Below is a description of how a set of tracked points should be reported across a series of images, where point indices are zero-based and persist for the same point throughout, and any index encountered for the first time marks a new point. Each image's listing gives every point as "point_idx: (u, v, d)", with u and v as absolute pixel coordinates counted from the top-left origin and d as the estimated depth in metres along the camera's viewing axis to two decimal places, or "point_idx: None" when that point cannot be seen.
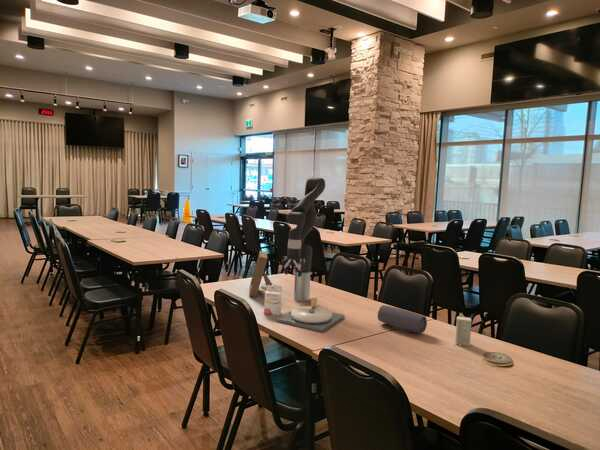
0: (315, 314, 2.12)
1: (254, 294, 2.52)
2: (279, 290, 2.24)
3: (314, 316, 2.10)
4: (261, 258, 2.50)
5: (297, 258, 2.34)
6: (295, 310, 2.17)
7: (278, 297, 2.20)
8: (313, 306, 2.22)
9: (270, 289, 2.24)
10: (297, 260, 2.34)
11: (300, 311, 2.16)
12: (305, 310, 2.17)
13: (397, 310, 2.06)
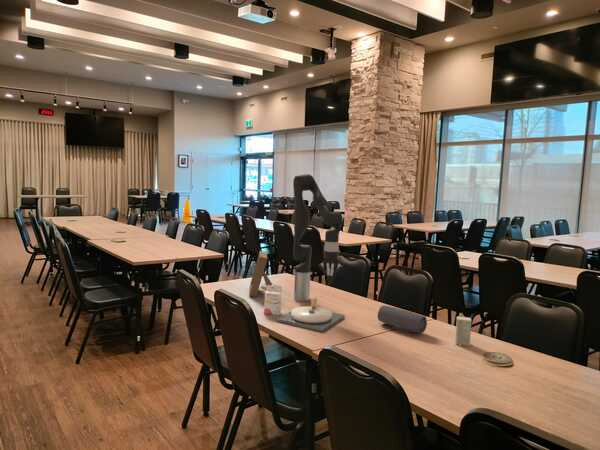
0: (315, 314, 2.12)
1: (254, 294, 2.52)
2: (279, 290, 2.24)
3: (314, 316, 2.10)
4: (261, 258, 2.50)
5: (337, 262, 2.18)
6: (295, 310, 2.17)
7: (278, 297, 2.20)
8: (313, 306, 2.22)
9: (270, 289, 2.24)
10: (335, 263, 2.19)
11: (300, 311, 2.16)
12: (305, 310, 2.17)
13: (397, 310, 2.06)
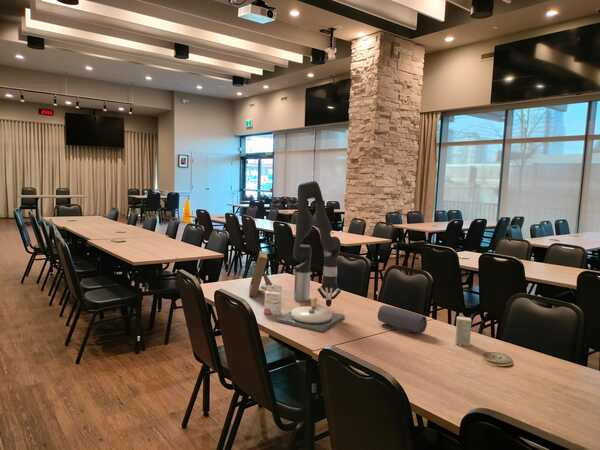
0: (315, 314, 2.12)
1: (254, 294, 2.52)
2: (279, 290, 2.24)
3: (314, 316, 2.10)
4: (261, 258, 2.50)
5: (335, 286, 2.20)
6: (295, 310, 2.17)
7: (278, 297, 2.20)
8: (313, 306, 2.22)
9: (270, 289, 2.24)
10: (334, 288, 2.20)
11: (300, 311, 2.16)
12: (305, 310, 2.17)
13: (397, 310, 2.06)
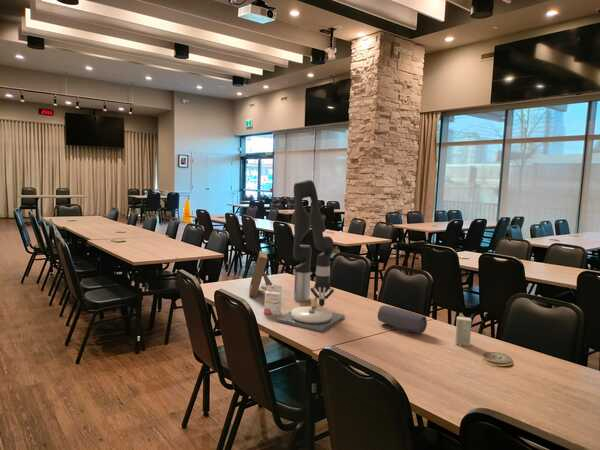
0: (315, 314, 2.12)
1: (254, 294, 2.52)
2: (279, 290, 2.24)
3: (314, 316, 2.10)
4: (261, 258, 2.50)
5: (328, 286, 2.21)
6: (295, 310, 2.17)
7: (278, 297, 2.20)
8: (313, 306, 2.22)
9: (270, 289, 2.24)
10: (327, 287, 2.21)
11: (300, 311, 2.16)
12: (305, 310, 2.17)
13: (397, 310, 2.06)
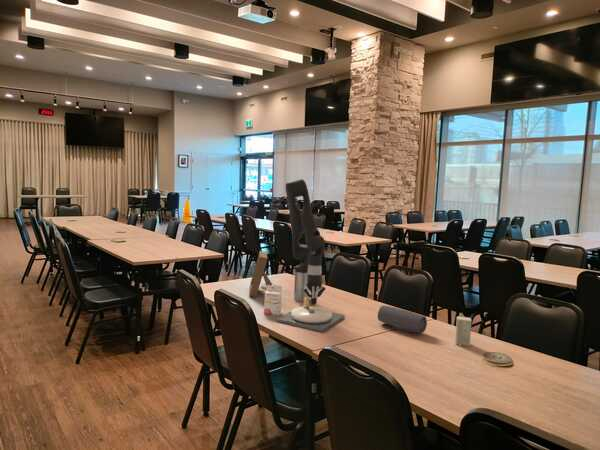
0: (318, 314, 2.13)
1: (254, 294, 2.52)
2: (279, 290, 2.24)
3: (319, 315, 2.11)
4: (261, 258, 2.50)
5: (320, 284, 2.24)
6: (294, 312, 2.13)
7: (278, 297, 2.20)
8: (307, 306, 2.22)
9: (270, 289, 2.24)
10: (319, 285, 2.24)
11: (300, 313, 2.13)
12: (304, 311, 2.16)
13: (397, 310, 2.06)
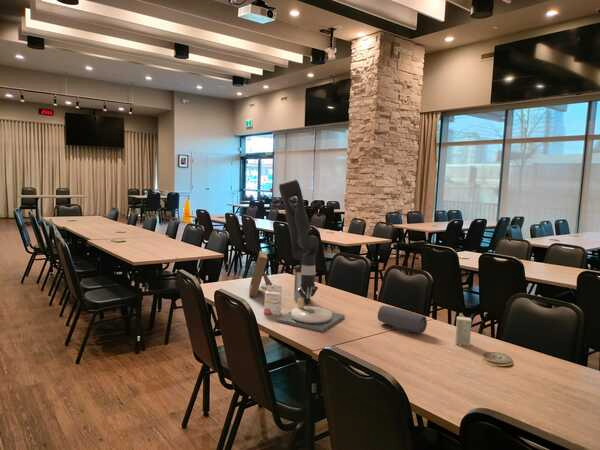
0: (319, 313, 2.14)
1: (254, 294, 2.52)
2: (279, 290, 2.24)
3: (321, 314, 2.13)
4: (261, 258, 2.50)
5: (314, 283, 2.24)
6: (297, 314, 2.10)
7: (278, 297, 2.20)
8: (302, 306, 2.21)
9: (270, 289, 2.24)
10: (313, 285, 2.24)
11: (302, 314, 2.11)
12: (304, 312, 2.14)
13: (397, 310, 2.06)
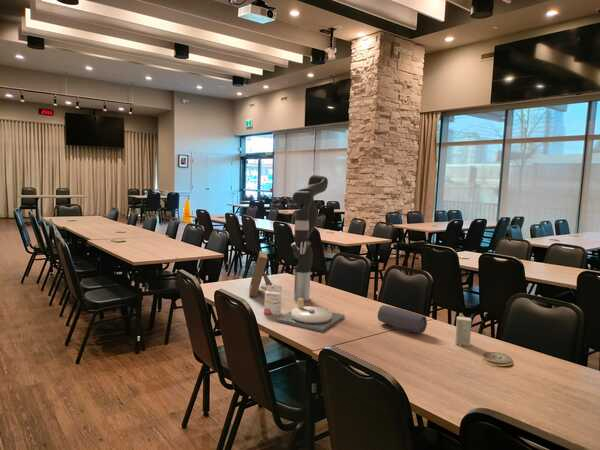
0: (319, 313, 2.14)
1: (254, 294, 2.52)
2: (279, 290, 2.24)
3: (321, 314, 2.13)
4: (261, 258, 2.50)
5: (307, 239, 2.24)
6: (297, 314, 2.10)
7: (278, 297, 2.20)
8: (302, 306, 2.21)
9: (270, 289, 2.24)
10: (306, 241, 2.24)
11: (302, 314, 2.11)
12: (304, 312, 2.14)
13: (397, 310, 2.06)
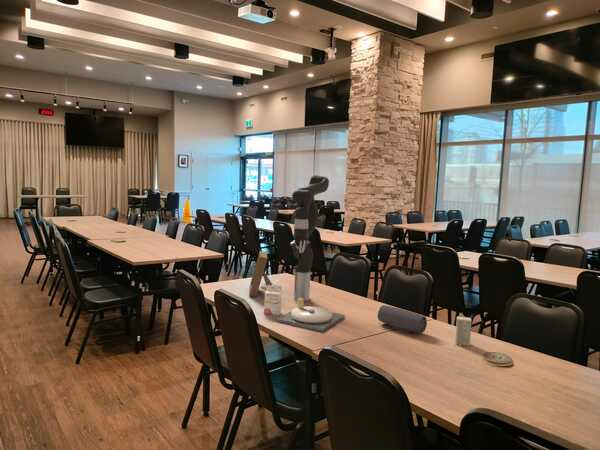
0: (319, 313, 2.14)
1: (254, 294, 2.52)
2: (279, 290, 2.24)
3: (321, 314, 2.13)
4: (261, 258, 2.50)
5: (307, 238, 2.24)
6: (297, 314, 2.10)
7: (278, 297, 2.20)
8: (302, 306, 2.21)
9: (270, 289, 2.24)
10: (305, 240, 2.24)
11: (302, 314, 2.11)
12: (304, 312, 2.14)
13: (397, 310, 2.06)
